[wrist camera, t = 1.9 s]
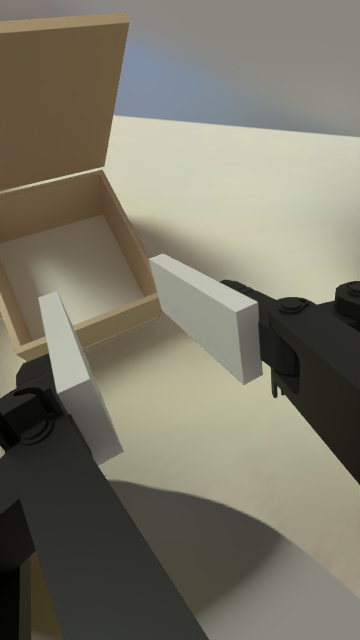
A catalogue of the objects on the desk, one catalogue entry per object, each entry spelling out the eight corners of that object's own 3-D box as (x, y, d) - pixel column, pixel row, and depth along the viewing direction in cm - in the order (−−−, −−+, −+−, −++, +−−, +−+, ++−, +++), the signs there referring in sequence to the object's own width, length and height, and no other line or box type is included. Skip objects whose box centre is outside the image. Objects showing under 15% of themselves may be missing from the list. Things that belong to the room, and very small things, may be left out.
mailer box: (38, 368, 35) (16, 354, 28) (-10, 245, 39) (-41, 203, 32) (158, 317, 40) (167, 293, 33) (105, 212, 44) (102, 169, 37)
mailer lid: (-200, 50, 14) (-207, 36, 14) (-45, 201, 31) (-48, 195, 31) (129, 22, 19) (125, 12, 19) (104, 166, 36) (102, 161, 36)
